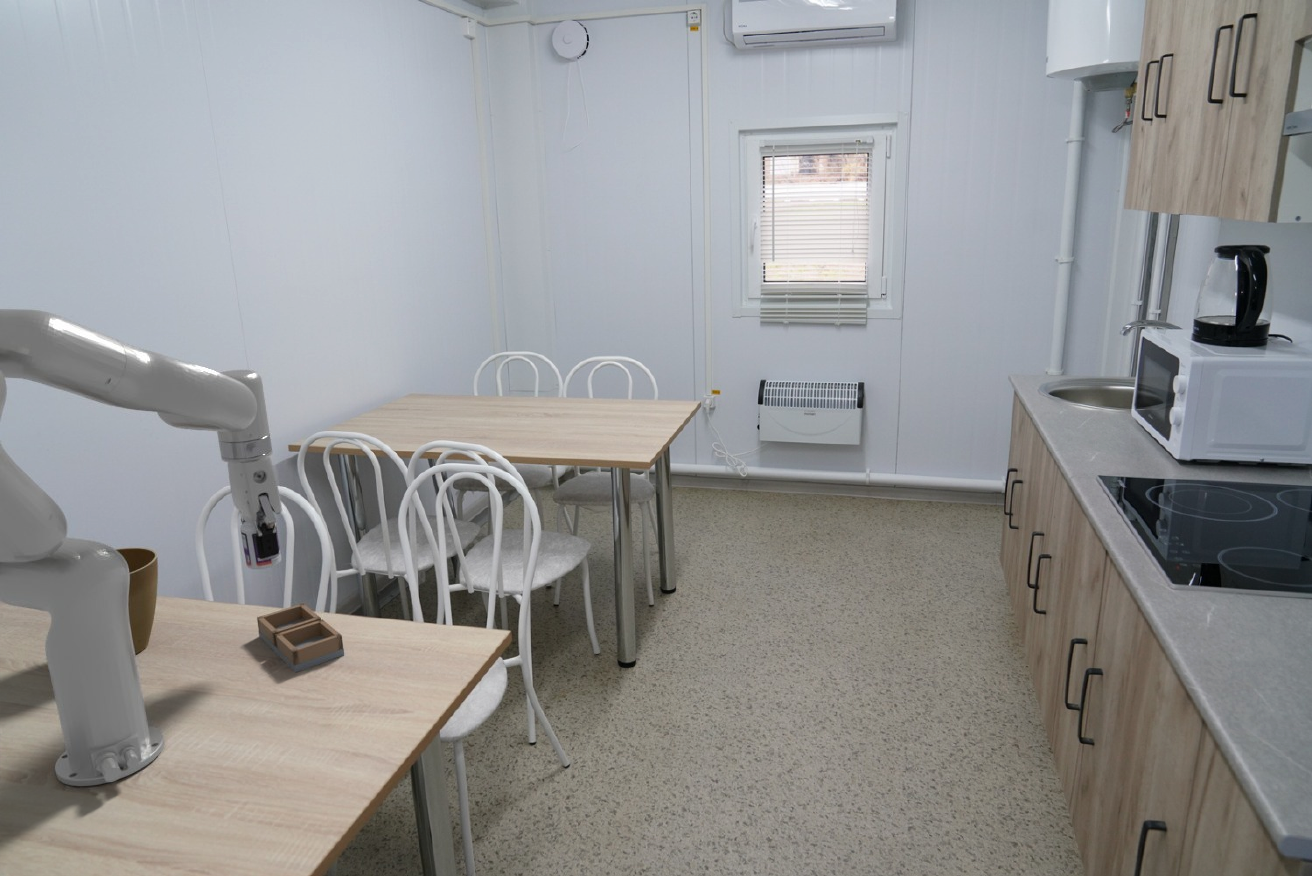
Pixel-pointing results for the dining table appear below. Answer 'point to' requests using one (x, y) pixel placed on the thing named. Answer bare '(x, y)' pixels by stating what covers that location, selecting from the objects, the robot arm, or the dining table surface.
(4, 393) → the robot arm
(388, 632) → the dining table surface
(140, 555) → the plant pot
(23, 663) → the dining table surface
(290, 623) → the two-cubby wooden organizer
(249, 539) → the pill bottle
